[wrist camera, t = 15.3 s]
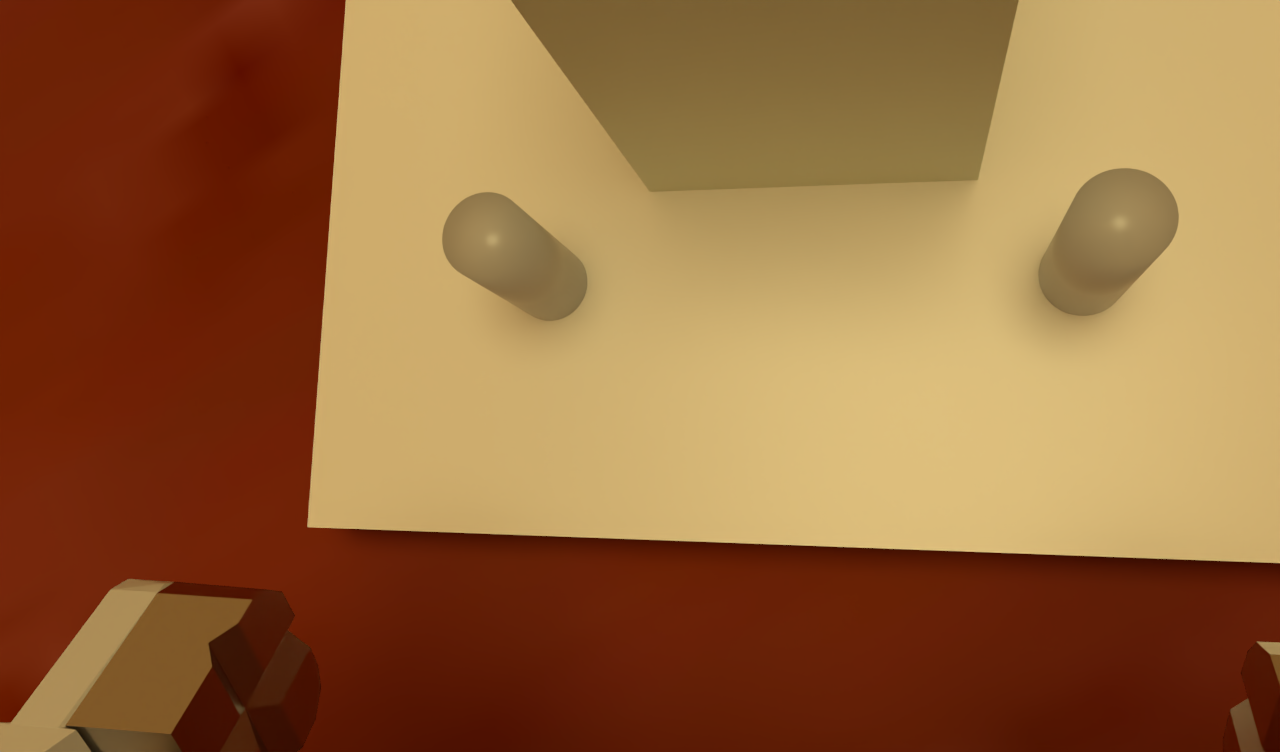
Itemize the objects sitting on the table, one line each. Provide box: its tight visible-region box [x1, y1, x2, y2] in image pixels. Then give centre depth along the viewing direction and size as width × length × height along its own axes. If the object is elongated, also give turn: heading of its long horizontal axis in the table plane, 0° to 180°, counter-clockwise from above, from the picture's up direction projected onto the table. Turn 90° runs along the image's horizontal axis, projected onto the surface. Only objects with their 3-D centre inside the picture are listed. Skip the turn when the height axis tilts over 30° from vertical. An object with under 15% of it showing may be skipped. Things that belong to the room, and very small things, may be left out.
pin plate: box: [308, 0, 1280, 563], centre depth 17 cm, size 16×16×4 cm
